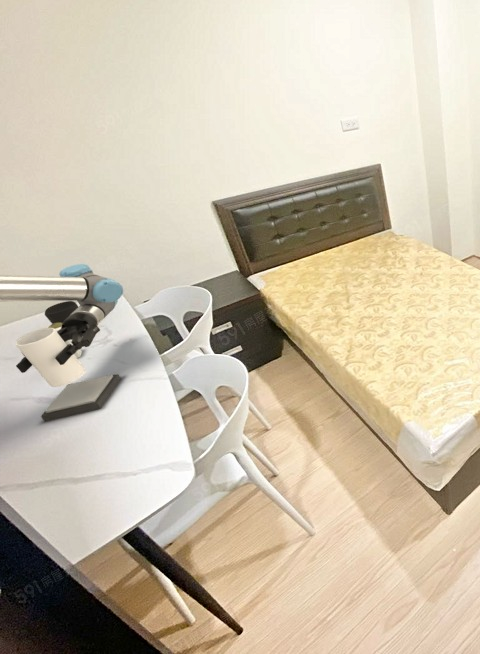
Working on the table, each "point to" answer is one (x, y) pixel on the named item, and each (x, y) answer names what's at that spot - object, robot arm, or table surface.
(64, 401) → the scale
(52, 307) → the pen holder
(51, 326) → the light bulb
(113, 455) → the table surface
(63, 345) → the cup
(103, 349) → the table surface
